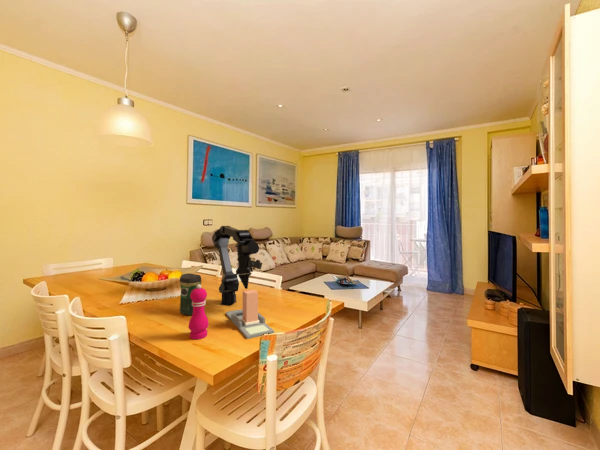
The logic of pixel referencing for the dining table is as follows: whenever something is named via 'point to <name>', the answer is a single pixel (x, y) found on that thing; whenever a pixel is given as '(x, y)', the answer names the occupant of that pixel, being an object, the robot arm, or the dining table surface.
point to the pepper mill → (198, 314)
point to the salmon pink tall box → (250, 307)
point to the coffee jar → (188, 292)
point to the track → (249, 330)
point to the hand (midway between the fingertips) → (246, 288)
